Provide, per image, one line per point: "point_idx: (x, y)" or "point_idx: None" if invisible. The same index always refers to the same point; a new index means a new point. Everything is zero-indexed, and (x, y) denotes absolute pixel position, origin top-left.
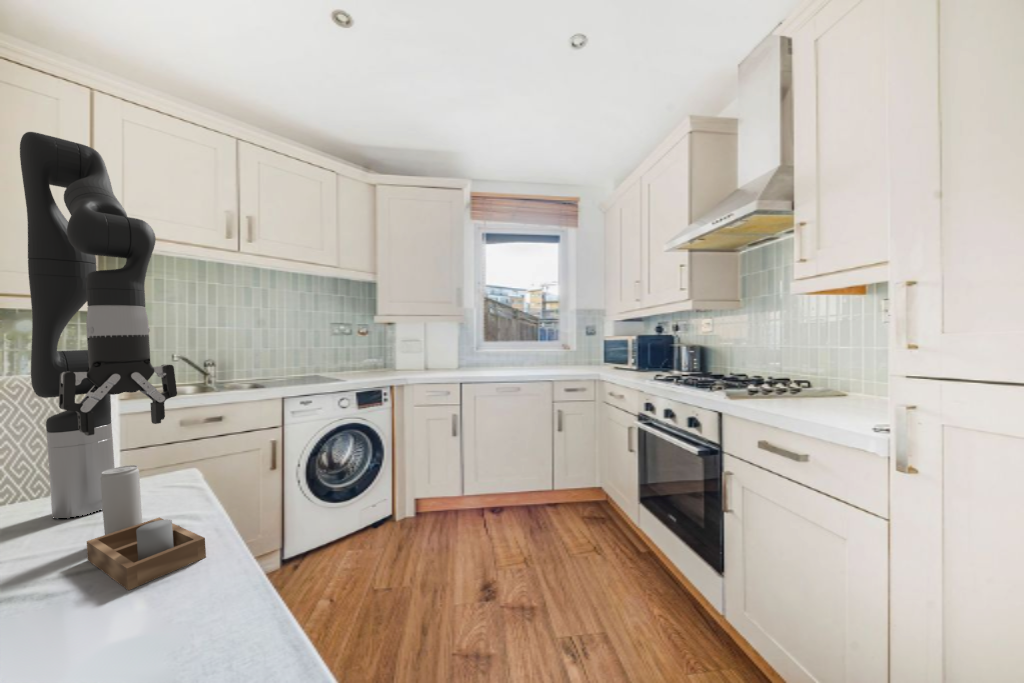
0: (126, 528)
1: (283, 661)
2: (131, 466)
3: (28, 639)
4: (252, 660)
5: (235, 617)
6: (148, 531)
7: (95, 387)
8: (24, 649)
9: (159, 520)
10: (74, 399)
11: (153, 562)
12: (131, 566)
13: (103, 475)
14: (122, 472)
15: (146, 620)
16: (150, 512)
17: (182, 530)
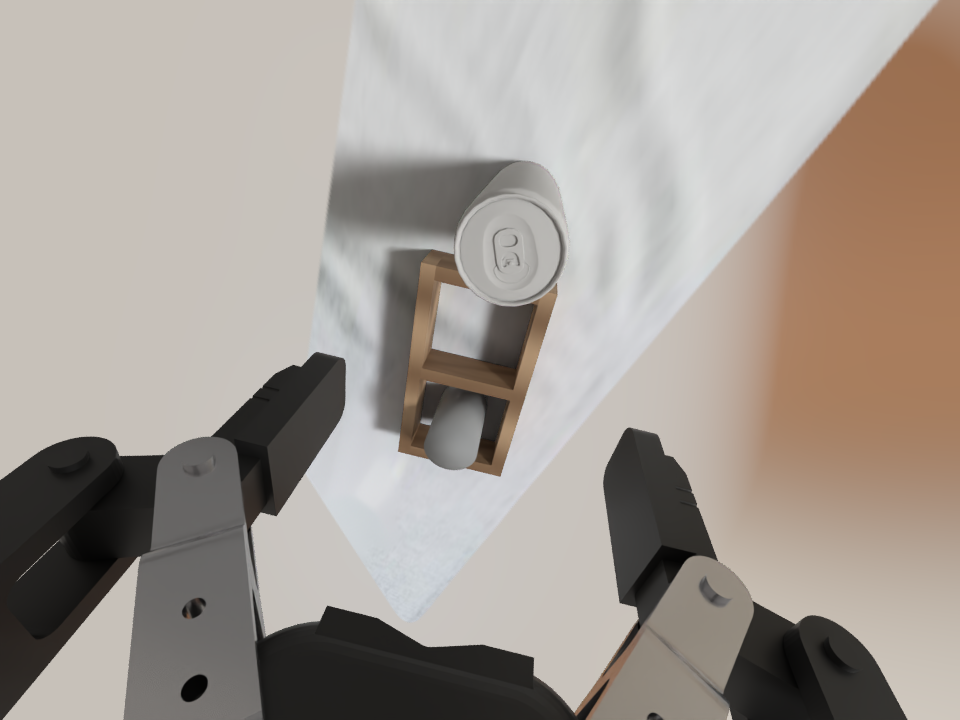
0: None
1: (405, 612)
2: (561, 236)
3: None
4: (397, 597)
5: (425, 562)
6: (432, 460)
7: (162, 680)
8: None
9: (468, 437)
10: (94, 605)
11: None
12: (403, 452)
13: (459, 243)
14: (491, 301)
15: (387, 498)
16: (697, 29)
17: (513, 416)
